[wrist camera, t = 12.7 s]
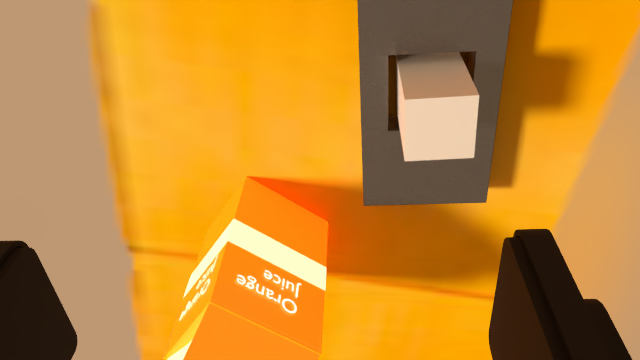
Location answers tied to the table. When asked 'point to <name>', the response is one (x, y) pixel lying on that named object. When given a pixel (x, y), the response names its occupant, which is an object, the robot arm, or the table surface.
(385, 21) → the grey peg hole board
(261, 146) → the table surface
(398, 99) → the square peg
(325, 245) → the orange juice
